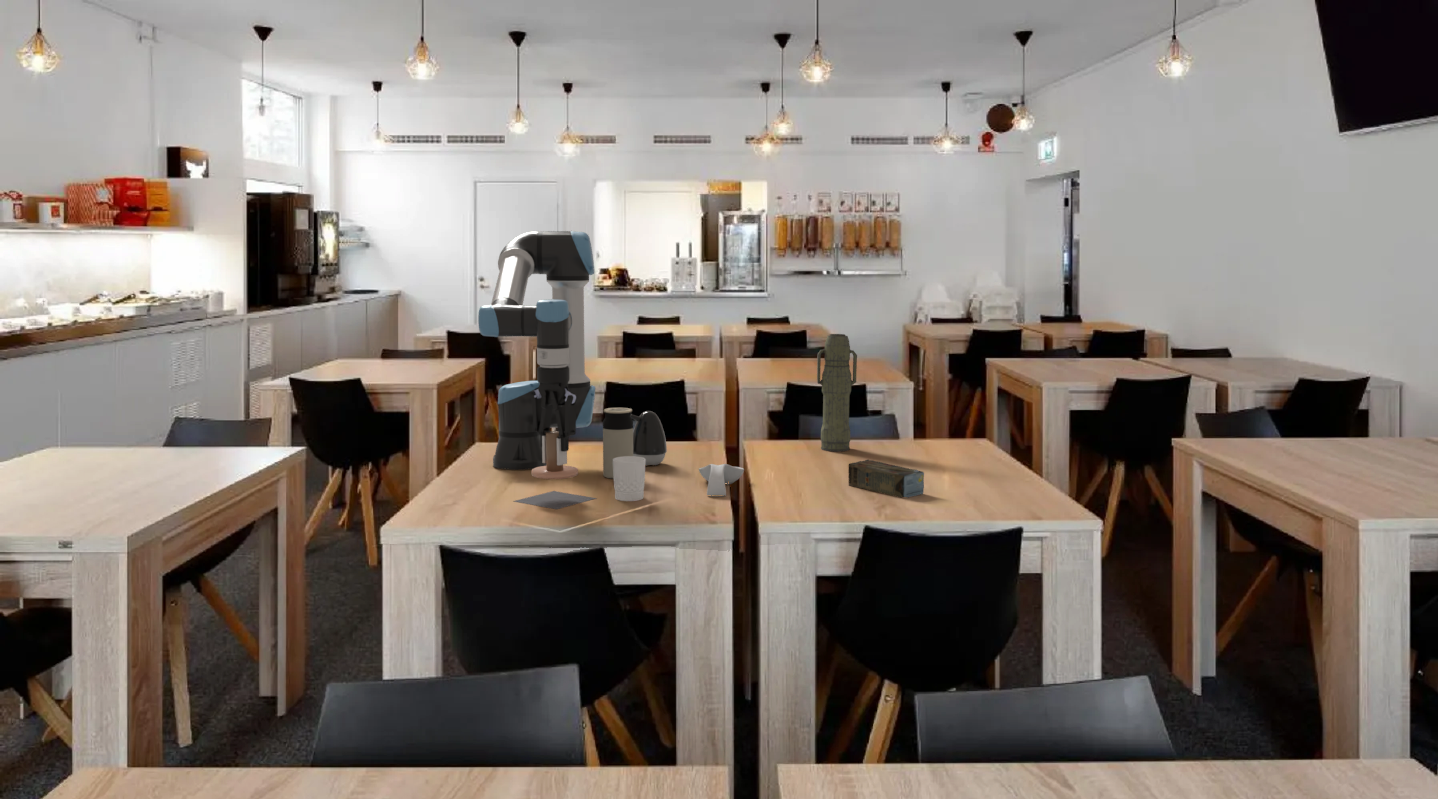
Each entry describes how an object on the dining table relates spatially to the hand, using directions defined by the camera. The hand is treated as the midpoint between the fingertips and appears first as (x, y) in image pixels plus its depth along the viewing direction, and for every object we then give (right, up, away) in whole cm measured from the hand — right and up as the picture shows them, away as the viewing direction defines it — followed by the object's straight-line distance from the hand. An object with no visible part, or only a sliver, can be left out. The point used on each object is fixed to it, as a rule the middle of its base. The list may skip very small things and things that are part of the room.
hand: (554, 463), depth 261 cm
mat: (0, -9, +1) cm, 9 cm away
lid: (0, -3, 0) cm, 3 cm away
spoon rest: (+39, -8, +19) cm, 44 cm away
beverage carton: (+81, -8, +17) cm, 83 cm away
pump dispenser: (+19, -3, +48) cm, 52 cm away
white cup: (+17, -9, +3) cm, 20 cm away
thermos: (+75, 0, +74) cm, 105 cm away
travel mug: (+12, -6, +31) cm, 34 cm away
